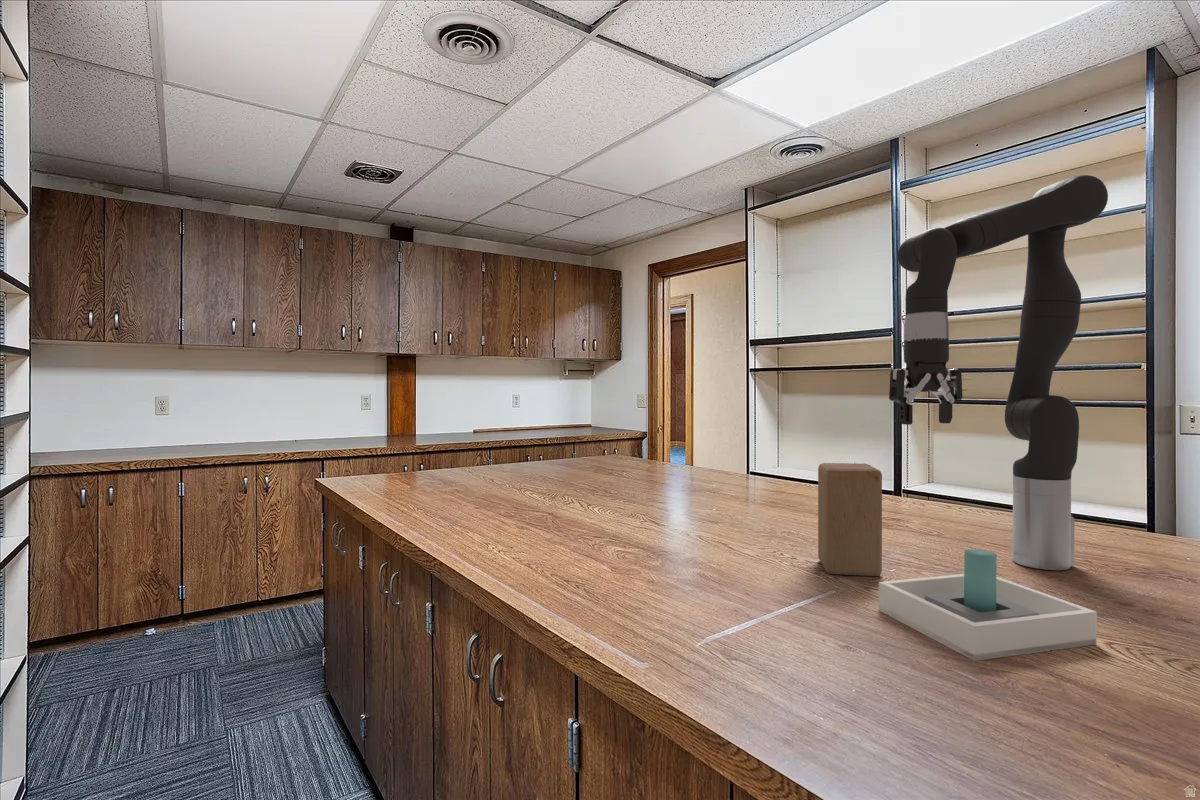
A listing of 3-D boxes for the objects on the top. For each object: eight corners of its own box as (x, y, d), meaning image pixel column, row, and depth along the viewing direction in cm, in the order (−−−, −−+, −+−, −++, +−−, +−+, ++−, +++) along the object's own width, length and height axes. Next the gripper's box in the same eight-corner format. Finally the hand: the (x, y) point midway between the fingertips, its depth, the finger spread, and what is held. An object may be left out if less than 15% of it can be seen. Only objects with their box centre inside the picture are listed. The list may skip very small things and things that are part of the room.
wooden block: (883, 578, 110) (883, 469, 110) (825, 575, 112) (825, 468, 112) (870, 562, 120) (870, 463, 119) (817, 560, 122) (817, 462, 121)
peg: (979, 613, 90) (980, 548, 90) (1002, 624, 87) (1003, 555, 86) (957, 616, 90) (957, 550, 89) (979, 627, 86) (980, 557, 85)
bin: (983, 599, 99) (983, 572, 99) (1096, 644, 82) (1096, 611, 81) (878, 610, 94) (878, 582, 94) (974, 661, 77) (974, 626, 77)
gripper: (942, 340, 118) (941, 422, 119) (879, 339, 115) (879, 423, 115) (974, 336, 111) (973, 424, 111) (908, 336, 108) (908, 426, 108)
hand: (925, 423), depth 113 cm, fingers open, 8 cm apart
